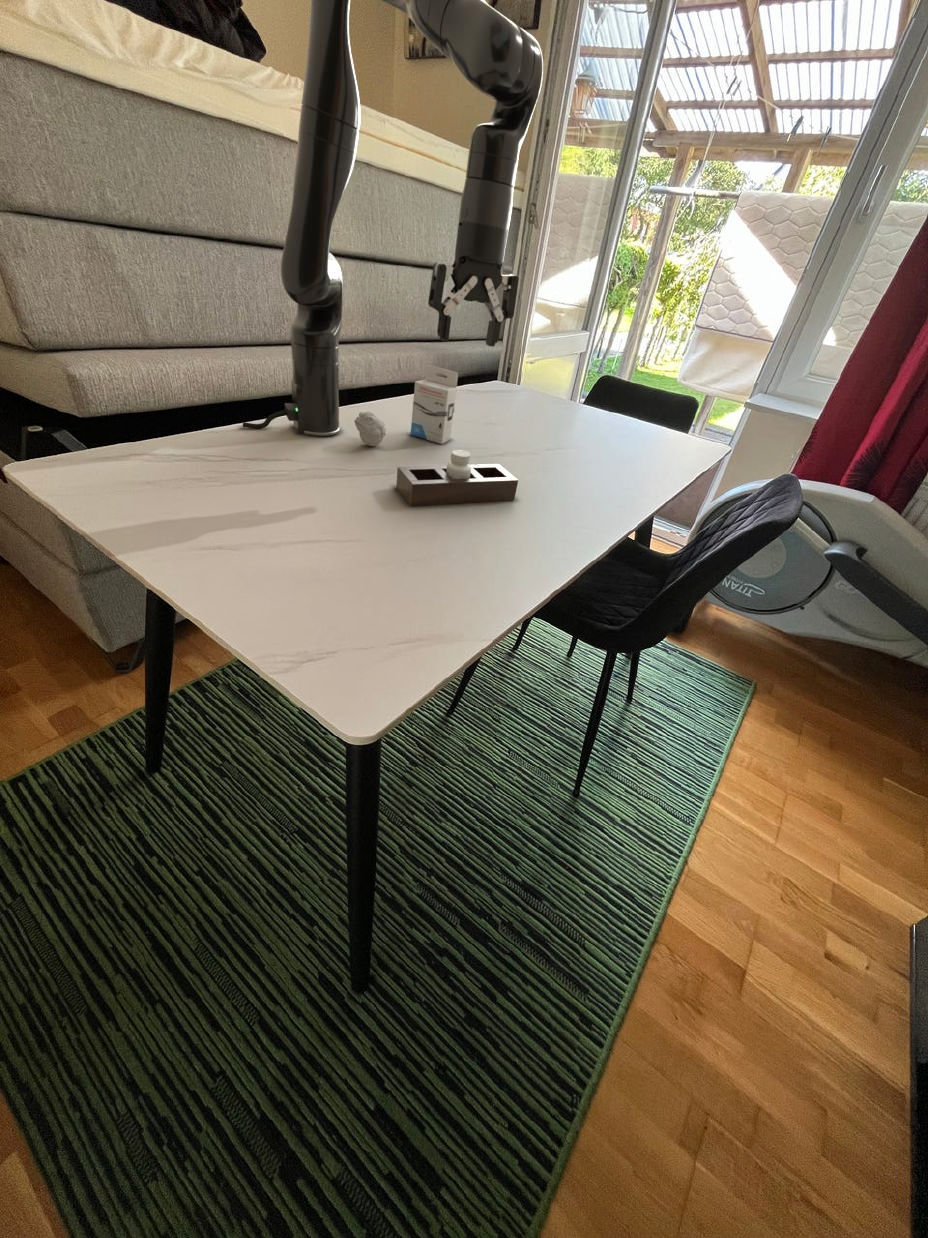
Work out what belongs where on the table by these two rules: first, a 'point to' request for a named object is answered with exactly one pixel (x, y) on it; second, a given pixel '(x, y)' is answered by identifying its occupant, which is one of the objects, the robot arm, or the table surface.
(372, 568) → the table surface
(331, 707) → the table surface
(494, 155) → the robot arm
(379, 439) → the white lumpy lump
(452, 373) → the ink box
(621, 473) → the table surface
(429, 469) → the holder
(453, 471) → the pill bottle
